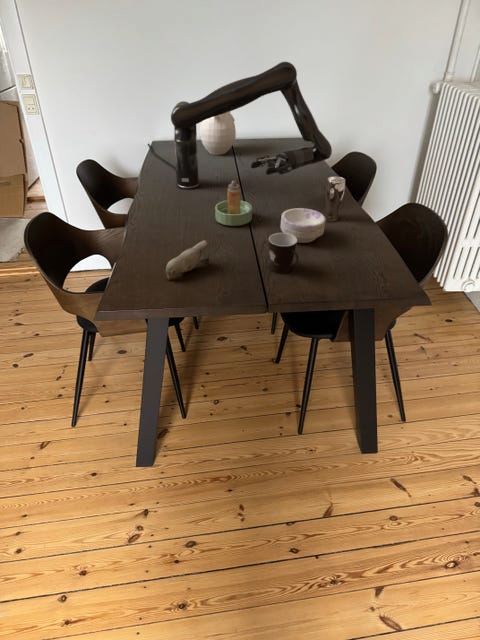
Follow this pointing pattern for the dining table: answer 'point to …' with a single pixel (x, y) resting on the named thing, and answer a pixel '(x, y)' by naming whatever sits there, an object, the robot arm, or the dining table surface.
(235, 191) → the pepper mill
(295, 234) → the paper bowls
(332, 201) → the beer glass
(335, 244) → the dining table surface
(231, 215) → the serving bowl
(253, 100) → the robot arm
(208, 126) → the pitcher
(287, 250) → the coffee mug
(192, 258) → the decorative bird
